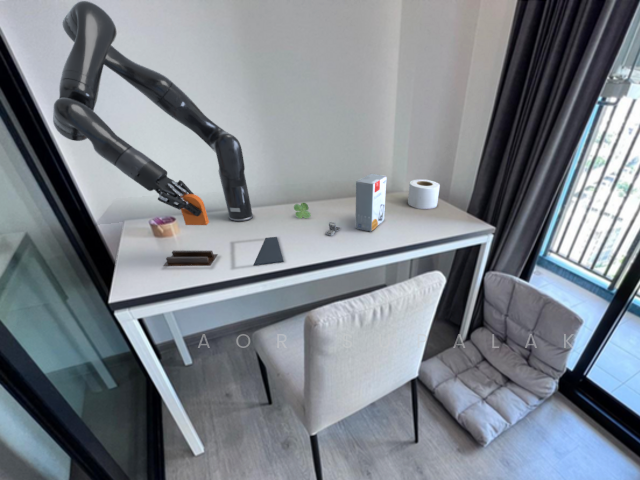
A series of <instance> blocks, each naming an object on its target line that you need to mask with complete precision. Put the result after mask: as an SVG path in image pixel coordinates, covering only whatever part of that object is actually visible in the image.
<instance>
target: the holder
mask: <svg viewBox="0 0 640 480" xmlns="http://www.w3.org/2000/svg"><path fill="white" fill-rule="evenodd" d="M171 254H172V255H171V256H166V257H165V260H166V262H165V263H164V264H163V265H162V266H163V267H210V266H212V264H213V263H214V261H215V260H216V258H217V257H218V255H219V254H218V253H214V251H213V250H172V251H171Z"/></svg>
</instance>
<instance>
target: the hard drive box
mask: <svg viewBox="0 0 640 480" xmlns="http://www.w3.org/2000/svg"><path fill="white" fill-rule="evenodd" d="M386 192H387V176H386V175H381V174H375V173H369V174H368V175H365V176H364V177H361V178H360V179H357V180H356V181H355V229H357V230H361V231H365V232H366V231H367V232H372V231H373V230H375V229H376V228H377V227H378V226H380V225H381V224H382V223H383V222H384V221H385V212H386V211H385V210H386V194H387V193H386Z"/></svg>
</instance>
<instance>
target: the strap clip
mask: <svg viewBox="0 0 640 480" xmlns="http://www.w3.org/2000/svg"><path fill="white" fill-rule="evenodd" d="M328 228H329V229H328V230H326V231H325V235H326V236H329V237H331V236H334V235H335V233H336V232H338V231H340V229H341V228H340V227H338V226H337V224H336V222H334V221H329V222H328Z"/></svg>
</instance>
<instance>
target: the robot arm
mask: <svg viewBox="0 0 640 480" xmlns="http://www.w3.org/2000/svg"><path fill="white" fill-rule="evenodd" d="M61 23H62V28H63V31H64V32H65V34H66V35H67V36H68V37H69V39H70V40H71V41H72V42H73V45H72V47H71V50H70V52H69V54H68V56H67V58H66V61H65V62H64V66H63V68H62V72H61V76H60V81H59V90H58V91H59V97H58V99H56V100H55V101H54V103H53V111H52V112H53V113H52V122H53V127H54V128H55V130H56V131H57V132H58V133H59V134H60V135H61V136H62V137H64V138H66V139H68V140H70V141H75V142H83V141H85V140H87V139H88V140H89V141H90V143H91V144H92V147H93V150H94V151H95V153H96V154H98V155H99V156H100V157H101V158H102V159H104V160H105V161H107V162H109V163H110V164H112V165H113V166H114V167H115V168H117V169H118V170H119V171H121V172H122V173H123V174H124V175H126V176H127V177H128V178H130V180H133V181H134V182H135V183H137V184H138V185H140V186H141V187H143V188H144V189H145V190H147V191H148V192H153V191H155V192H156V193H157V194H158V197H157V201H159V202H161V203H163V204H166V205H167V206H170V207H173V208H175V209H177V210H180V211H181V208H183V209H187V210H188V211H190V212H191V213H192V214H194V215H195V216H199V215H200V214H201V213H202V211H201V210H200V209H198V208H197V207H196V206H194V205H193V204H191V203H190V204H189V202H188V201H187V200H186V199H185V198H184V197H183V196H185V195H186V194H194V193H193V191H192V190H191V189H190V188H189V187H188V186H187V184H185V182H184V181H182V180H181V179H179V180H178V181H175V180H174V179H173V178H172V179H171V178H170V177H168V171H167V170H166V169H165V168H164V167H162V166H161V165H159V164H158V163H157V162H155V161H154V160H153V159H151V158H150V157H149V156H147V155H146V154H144V153H143V152H142V151H140V150H138V149H137V148H135V147H133V146H132V145H131V144H129V143H128V142H127V141H126V140H124V139H123V138H121V137H120V136H118V135H117V134H116V133H115V132H114V131H113V129H111V127H110V126H109V125H108V124H107V123H106V122H105V121H104V120H103V119H102V118H101V117H100V116H99V115H98V114H97V113H96V111H94V110H95V107H96V105H97V102H98V97H99V91H100V85H101V80H102V75H103V69H104V66H105V67H106V68H107V69H110V70H111V71H112V72H114V73H115V74H116V75H118V76H119V77H120V78H122V79H123V80H125V81H126V82H127V83H128V84H130V85H131V86H132V87H133V88H135V89H136V90H137V91H138V92H140V93H141V94H142V95H143V96H144V97H146V98H147V99H148V100H149V101H151V102H152V103H153V104H155V105H156V106H157V107H158V108H159V109H161V110H162V111H163V112H164V113H166V114H167V115H169V116H170V117H171V118H172V119H174V120H175V121H177V122H178V123H180V124H181V125H182V126H184V127H186V128H187V129H189V130H191V131H192V132H193V133H195V134H196V135H197V136H198V137H199V138H200V139H201V140H202V141H203V142H204V143H205V144H206V145H207V146H208V147H209V148H210V149H211V150H212V151H213V152H214V153H215V154H216V159H217V164H218V169H217V170H218V171H217V172H218V175H219V179H220V184H221V188H222V192H223V196H224V201H225V205H226V209H227V213H228V218H229V220H231V221H233V222H246V221H250V220H251V219H253V218H254V214H253V210H252V205H251V200H250V194H249V190H248V189H249V188H248V184H247V179H246V174H245V168H246V166H245V160H244V155H243V154H244V153H243V149H242V146H241V143H240V141H239V140H238V138H237V137H236V136H235V135H233V134H231V133H229V131H226V130H225V129H223V128H222V127H220V126H219V125H218V124H216V123H215V122H214V121H213V120H211V119H210V118H209V117H208V116H207V115H205V113H204V112H203V111H202V110H201V109H200V108H199V107H198V106H197V104H196V103H195V102H194V101H193V100H192V99H191V98H190V97H189V96H188V95H187V94H186V92H184V91H183V90H182V89H181V88H180V87H179V86H178V85H176V83H174V82H173V81H172V80H171V79H169V77H167V76H165V75H164V74H162V73H161V72H158V71H156V70H153V69H151V68H149V67H146V66H143V65H141V64H138V63H137V62H135V61H134V60H131V59H130V58H128V57H127V56H125V55H124V54H122V53H121V52H120V51H119V50H117V48H115V46H113V45H112V44H113V43H114V42H115V40H116V38H117V34H118V32H117V27H116V25H115V22H114V21H113V19H112V18H111V16H110V15H109V14H108V13H107V12H106V11H105V10H104V9H103V8H101V7H100V6H99V5H97V4H96V3H94V2H91V1H87V0H80V1H78V2H76V3H75V4H74V5H72V7H71V8H70V9H69V11H68V12H67V14H66V15H65V16H64V18H63V20H62V22H61ZM180 199H181V200H182V201H181V200H180Z"/></svg>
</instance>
